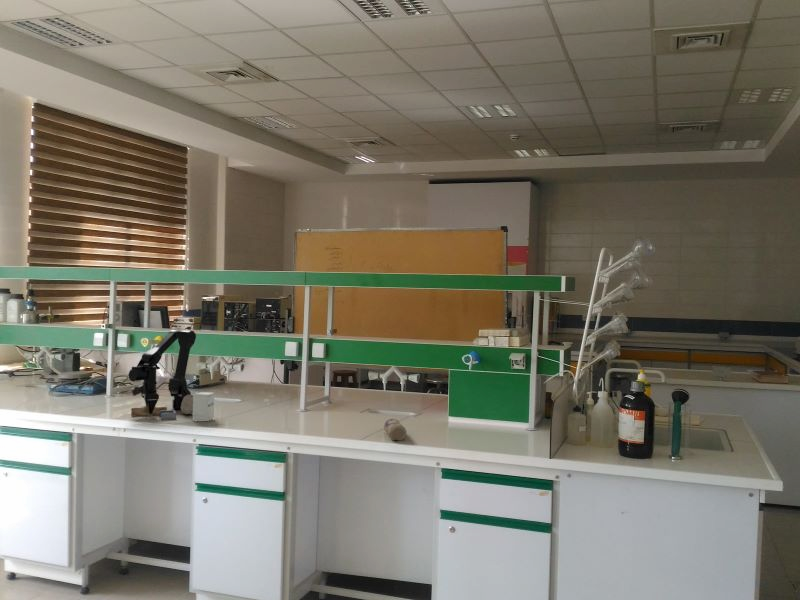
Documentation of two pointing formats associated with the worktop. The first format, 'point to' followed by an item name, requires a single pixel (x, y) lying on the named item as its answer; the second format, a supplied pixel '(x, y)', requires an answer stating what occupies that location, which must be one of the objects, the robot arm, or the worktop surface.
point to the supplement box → (203, 406)
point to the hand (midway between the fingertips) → (149, 412)
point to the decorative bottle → (395, 429)
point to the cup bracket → (167, 414)
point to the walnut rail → (147, 410)
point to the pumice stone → (187, 405)
